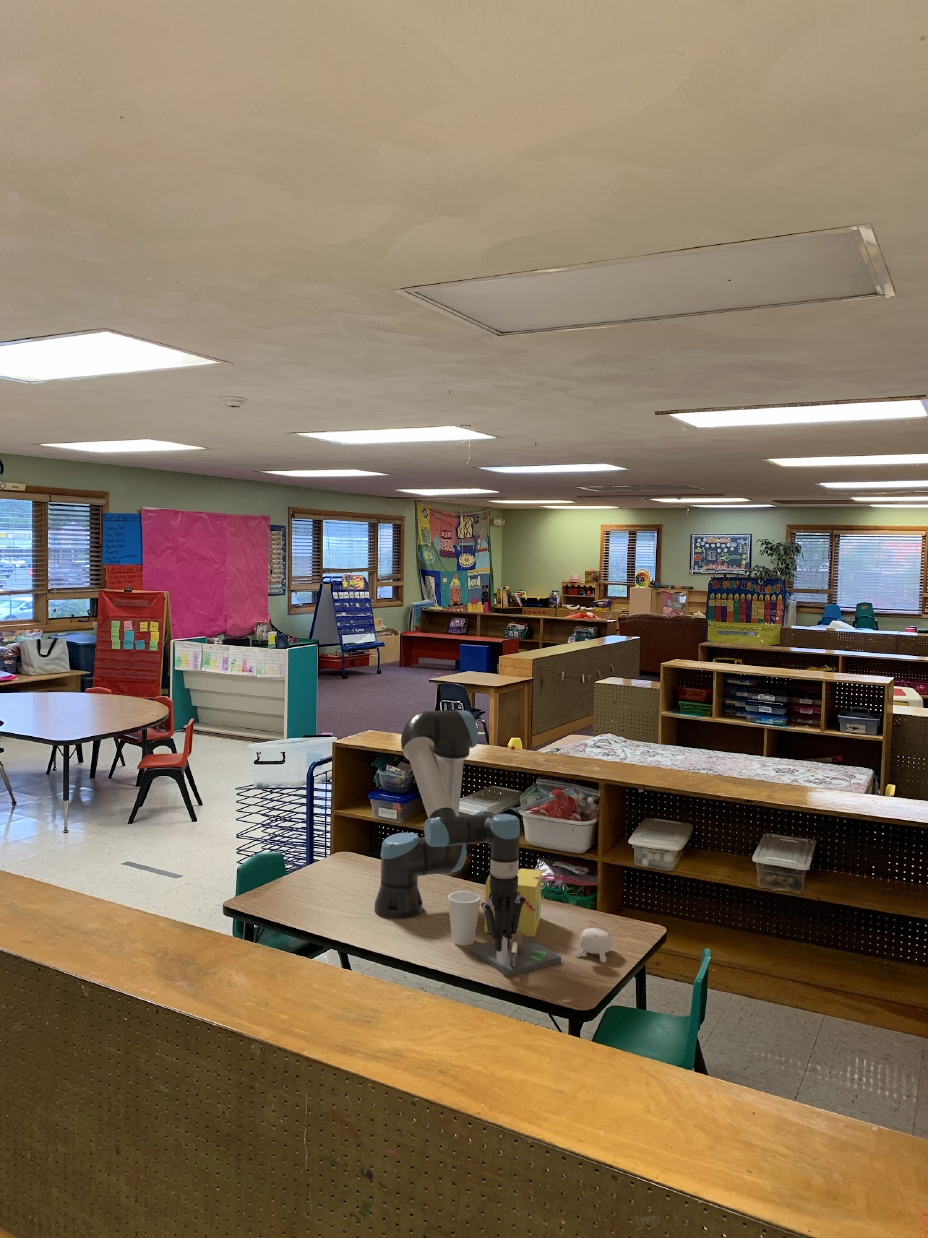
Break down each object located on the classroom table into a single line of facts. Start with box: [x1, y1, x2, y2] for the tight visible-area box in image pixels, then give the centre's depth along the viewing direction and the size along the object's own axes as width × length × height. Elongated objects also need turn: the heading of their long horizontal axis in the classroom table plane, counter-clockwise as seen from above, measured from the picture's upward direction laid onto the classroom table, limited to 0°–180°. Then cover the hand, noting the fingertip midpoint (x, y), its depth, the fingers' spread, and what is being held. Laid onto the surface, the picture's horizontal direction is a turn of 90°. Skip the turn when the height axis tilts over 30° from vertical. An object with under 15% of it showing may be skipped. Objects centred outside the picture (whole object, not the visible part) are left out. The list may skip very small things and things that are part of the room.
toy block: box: [484, 868, 543, 938], centre depth 262 cm, size 15×15×15 cm
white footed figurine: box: [574, 927, 612, 964], centre depth 240 cm, size 9×8×15 cm
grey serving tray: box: [470, 934, 562, 978], centre depth 239 cm, size 18×18×2 cm
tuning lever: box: [509, 931, 522, 967], centre depth 234 cm, size 12×4×5 cm, turn 173°
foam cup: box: [447, 890, 481, 947], centre depth 248 cm, size 10×9×13 cm
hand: (501, 961), depth 229 cm, fingers closed
